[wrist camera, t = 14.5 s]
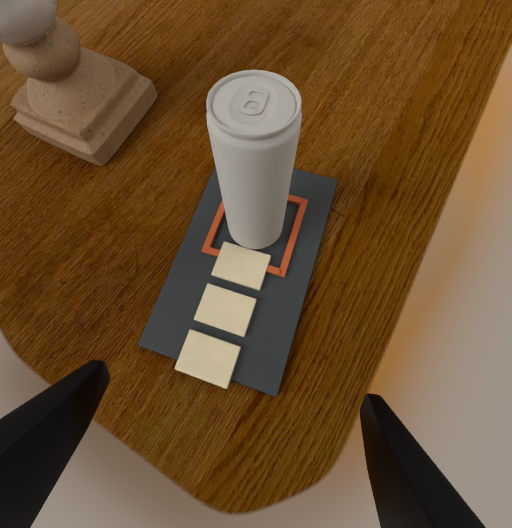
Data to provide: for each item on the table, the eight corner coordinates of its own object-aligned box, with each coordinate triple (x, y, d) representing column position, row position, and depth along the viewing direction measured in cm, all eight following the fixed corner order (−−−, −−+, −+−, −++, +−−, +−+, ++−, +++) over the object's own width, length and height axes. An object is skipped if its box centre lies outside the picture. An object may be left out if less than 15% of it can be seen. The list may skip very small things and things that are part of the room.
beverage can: (222, 245, 23) (188, 126, 12) (237, 201, 24) (220, 61, 13) (275, 257, 22) (293, 146, 11) (287, 211, 24) (312, 76, 13)
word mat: (274, 403, 20) (274, 407, 19) (137, 352, 22) (130, 352, 21) (336, 183, 25) (339, 176, 24) (222, 154, 27) (221, 146, 26)
